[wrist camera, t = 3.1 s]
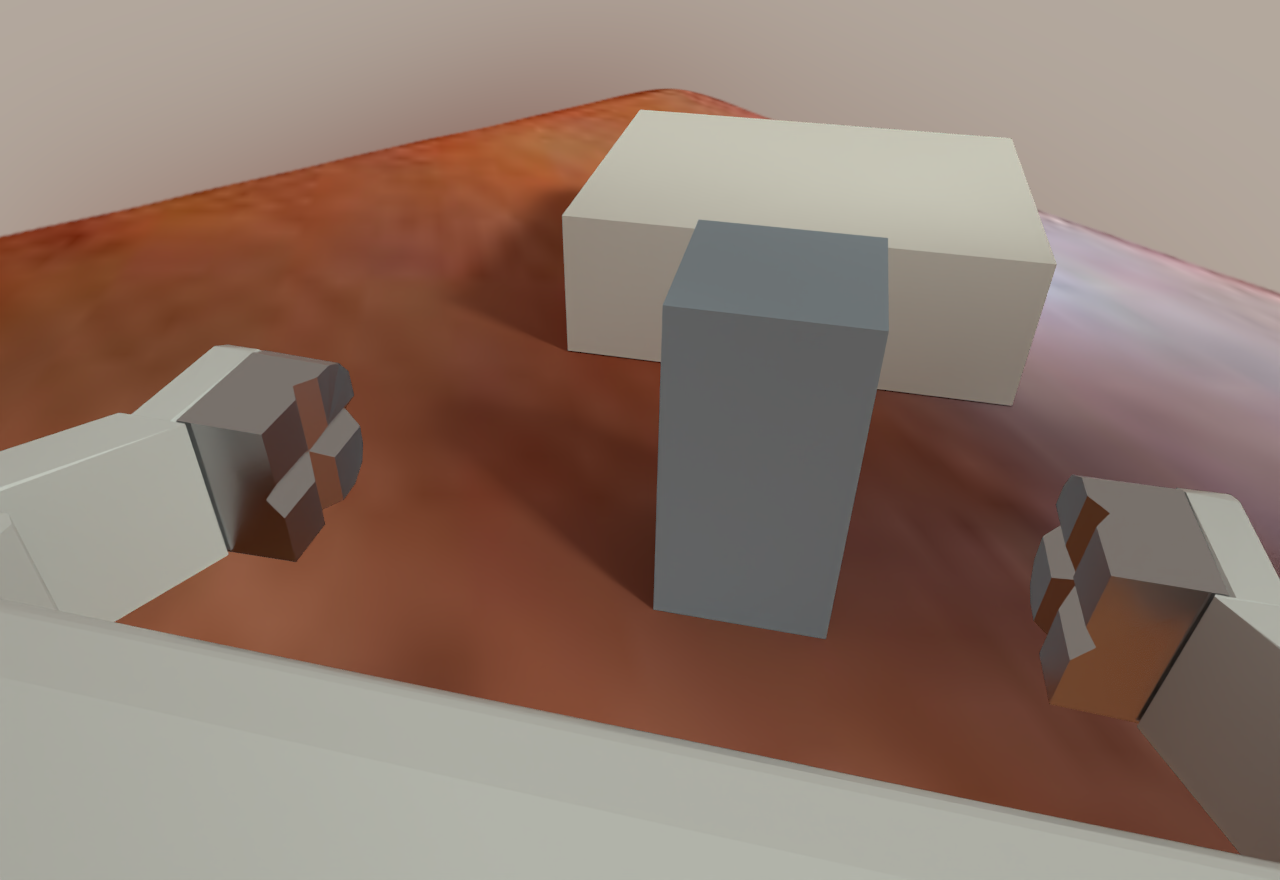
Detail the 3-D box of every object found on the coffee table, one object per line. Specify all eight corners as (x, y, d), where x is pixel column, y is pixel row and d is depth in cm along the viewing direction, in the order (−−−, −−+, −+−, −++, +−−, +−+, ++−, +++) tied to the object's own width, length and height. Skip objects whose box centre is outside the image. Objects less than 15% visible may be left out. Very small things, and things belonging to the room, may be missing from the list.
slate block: (833, 523, 29) (888, 237, 23) (825, 639, 25) (889, 331, 19) (683, 501, 30) (698, 219, 24) (653, 609, 26) (662, 305, 20)
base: (981, 255, 46) (1011, 138, 42) (1011, 405, 35) (1056, 264, 31) (639, 222, 49) (640, 109, 45) (567, 350, 38) (561, 215, 34)
